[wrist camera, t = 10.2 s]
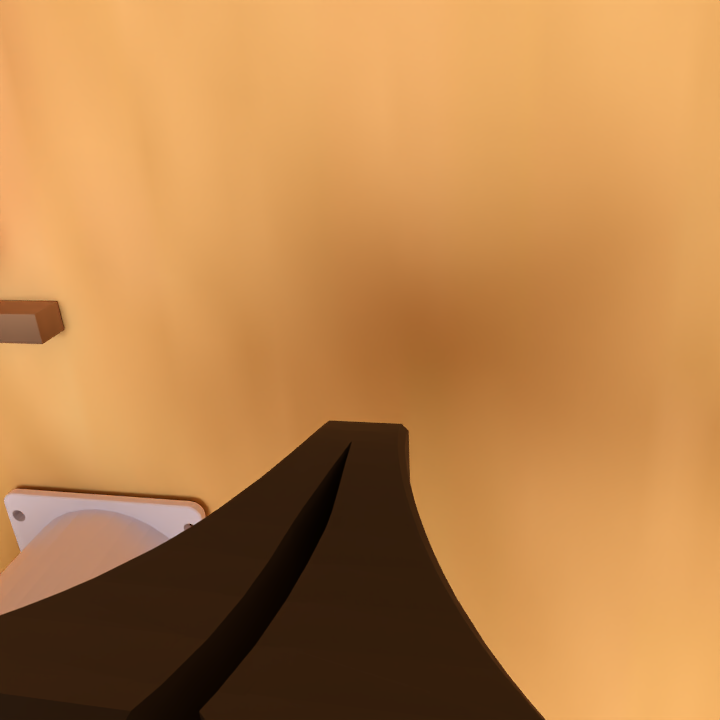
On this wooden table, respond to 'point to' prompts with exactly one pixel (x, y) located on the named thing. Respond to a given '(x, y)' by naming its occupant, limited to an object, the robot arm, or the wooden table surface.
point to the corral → (29, 321)
